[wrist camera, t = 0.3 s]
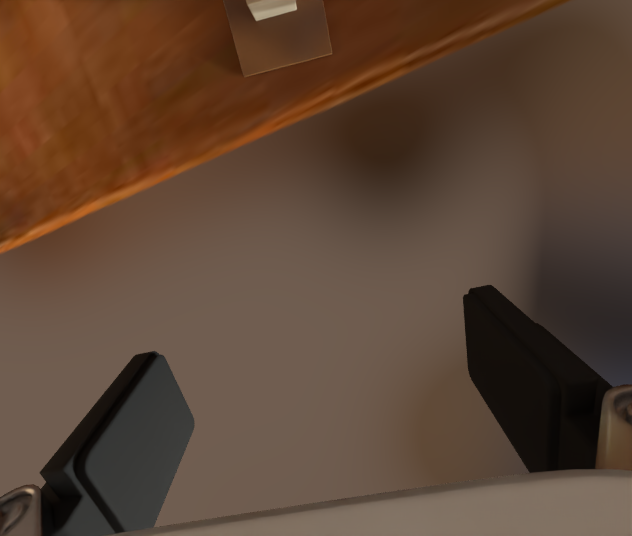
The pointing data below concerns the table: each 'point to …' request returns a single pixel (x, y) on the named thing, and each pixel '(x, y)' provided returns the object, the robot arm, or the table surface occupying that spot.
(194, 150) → the table surface
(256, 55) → the letter board
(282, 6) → the tile
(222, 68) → the table surface
